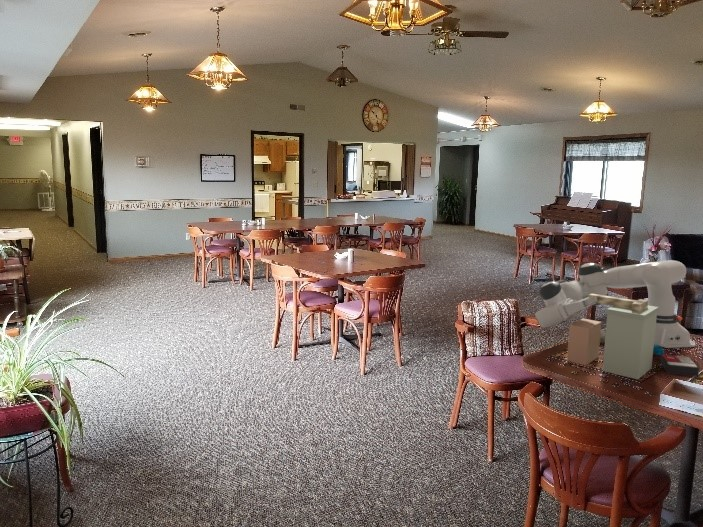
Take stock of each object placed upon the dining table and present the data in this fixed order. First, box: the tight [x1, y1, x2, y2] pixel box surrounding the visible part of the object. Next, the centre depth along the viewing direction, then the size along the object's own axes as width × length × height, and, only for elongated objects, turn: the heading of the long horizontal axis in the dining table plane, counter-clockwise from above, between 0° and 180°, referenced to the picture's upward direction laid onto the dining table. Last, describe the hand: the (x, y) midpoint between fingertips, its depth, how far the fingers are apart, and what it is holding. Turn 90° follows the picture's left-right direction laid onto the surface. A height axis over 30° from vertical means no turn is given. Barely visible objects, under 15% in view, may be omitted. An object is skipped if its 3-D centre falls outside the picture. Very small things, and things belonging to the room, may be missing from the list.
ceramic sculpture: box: [600, 328, 606, 344], centre depth 254 cm, size 11×9×15 cm
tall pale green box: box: [602, 305, 659, 380], centre depth 220 cm, size 14×18×26 cm
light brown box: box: [566, 318, 602, 366], centre depth 233 cm, size 8×14×16 cm, turn 136°
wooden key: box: [589, 294, 648, 312], centre depth 222 cm, size 21×10×3 cm, turn 46°
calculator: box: [659, 353, 700, 377], centre depth 223 cm, size 11×4×15 cm
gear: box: [653, 345, 665, 356], centre depth 237 cm, size 11×6×10 cm
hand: (599, 297), depth 226 cm, fingers closed on wooden key, 3 cm apart
